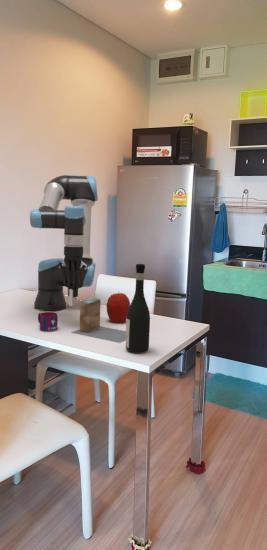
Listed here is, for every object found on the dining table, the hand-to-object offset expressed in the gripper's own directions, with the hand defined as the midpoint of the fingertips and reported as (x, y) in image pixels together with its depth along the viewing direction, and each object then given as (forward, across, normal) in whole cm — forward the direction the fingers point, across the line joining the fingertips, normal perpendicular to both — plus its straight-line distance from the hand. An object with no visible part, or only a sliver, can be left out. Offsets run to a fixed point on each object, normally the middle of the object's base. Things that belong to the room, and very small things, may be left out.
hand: (72, 304), depth 171 cm
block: (+9, +8, 0) cm, 12 cm away
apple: (+10, +10, +18) cm, 23 cm away
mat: (+10, +15, 0) cm, 18 cm away
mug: (+10, -7, -8) cm, 14 cm away
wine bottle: (+10, +34, -9) cm, 37 cm away
